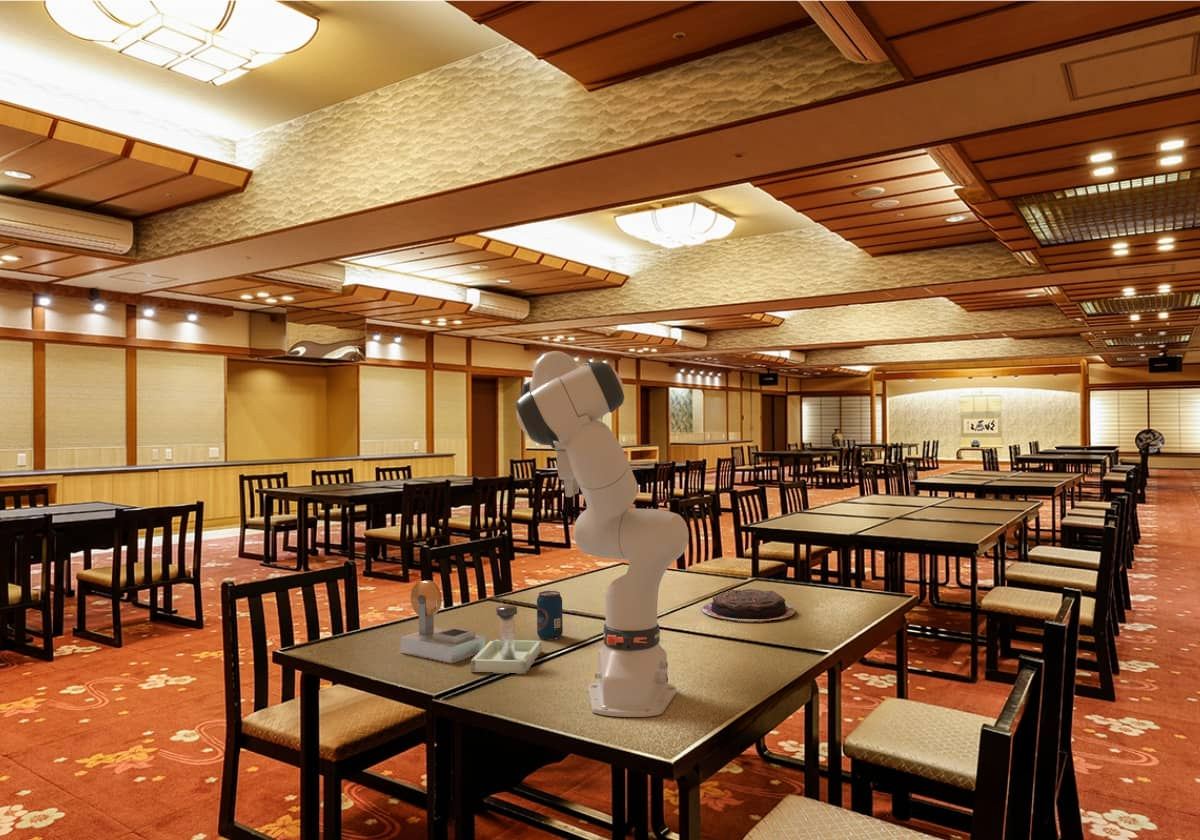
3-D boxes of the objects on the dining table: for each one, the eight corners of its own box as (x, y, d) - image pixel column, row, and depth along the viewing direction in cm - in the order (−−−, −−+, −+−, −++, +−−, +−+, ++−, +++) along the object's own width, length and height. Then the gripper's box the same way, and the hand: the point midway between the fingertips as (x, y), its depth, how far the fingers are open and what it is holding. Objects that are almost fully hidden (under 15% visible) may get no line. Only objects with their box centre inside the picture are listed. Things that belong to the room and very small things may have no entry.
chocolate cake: (699, 623, 225) (699, 600, 225) (703, 602, 252) (703, 582, 252) (798, 626, 220) (798, 603, 220) (792, 604, 247) (791, 583, 247)
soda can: (532, 637, 211) (531, 592, 211) (552, 632, 215) (552, 589, 215) (547, 642, 205) (546, 596, 205) (567, 637, 210) (567, 593, 210)
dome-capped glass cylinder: (515, 662, 185) (514, 609, 186) (495, 662, 186) (493, 609, 186) (520, 656, 190) (519, 605, 190) (500, 656, 191) (499, 605, 191)
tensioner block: (485, 651, 197) (484, 582, 197) (451, 663, 187) (450, 591, 187) (431, 641, 208) (430, 575, 208) (396, 651, 198) (396, 583, 198)
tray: (525, 673, 178) (525, 661, 178) (470, 672, 180) (470, 660, 180) (541, 651, 196) (541, 640, 196) (491, 650, 198) (491, 639, 198)
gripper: (566, 441, 213) (566, 492, 213) (552, 442, 192) (553, 498, 192) (589, 441, 212) (589, 492, 212) (577, 442, 192) (578, 498, 191)
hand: (572, 495), depth 202 cm, fingers open, 8 cm apart
